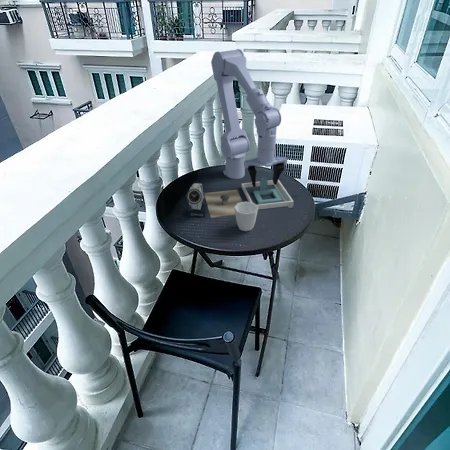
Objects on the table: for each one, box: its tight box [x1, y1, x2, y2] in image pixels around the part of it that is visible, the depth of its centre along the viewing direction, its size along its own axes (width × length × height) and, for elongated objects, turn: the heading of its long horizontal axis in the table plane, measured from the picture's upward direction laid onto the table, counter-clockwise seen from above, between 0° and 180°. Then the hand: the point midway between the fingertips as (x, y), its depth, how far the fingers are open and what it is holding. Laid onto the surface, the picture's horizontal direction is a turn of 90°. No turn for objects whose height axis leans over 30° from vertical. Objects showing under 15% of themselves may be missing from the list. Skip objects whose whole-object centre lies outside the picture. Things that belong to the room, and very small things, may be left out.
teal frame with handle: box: [252, 177, 284, 205], centre depth 113 cm, size 10×8×5 cm
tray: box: [241, 179, 295, 211], centre depth 115 cm, size 16×14×2 cm
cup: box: [234, 200, 259, 232], centre depth 99 cm, size 7×10×8 cm
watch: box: [186, 183, 209, 218], centre depth 104 cm, size 6×8×11 cm
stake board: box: [203, 189, 243, 218], centre depth 111 cm, size 16×12×4 cm
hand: (264, 184), depth 116 cm, fingers open, 7 cm apart
